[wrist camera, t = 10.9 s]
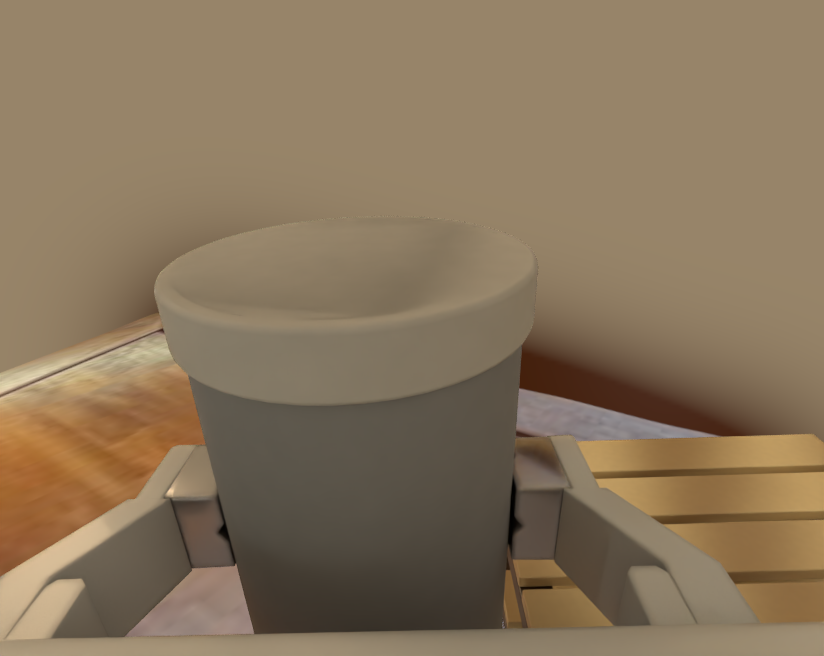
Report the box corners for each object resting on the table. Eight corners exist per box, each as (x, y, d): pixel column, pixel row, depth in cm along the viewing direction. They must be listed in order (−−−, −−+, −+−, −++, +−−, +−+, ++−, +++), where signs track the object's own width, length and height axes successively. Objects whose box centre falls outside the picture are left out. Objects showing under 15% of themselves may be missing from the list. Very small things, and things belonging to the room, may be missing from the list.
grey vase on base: (526, 829, 10) (596, 320, 5) (239, 834, 10) (52, 337, 5) (466, 454, 20) (471, 175, 15) (327, 458, 20) (291, 181, 15)
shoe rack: (526, 771, 19) (538, 661, 17) (484, 531, 30) (487, 440, 27) (982, 760, 19) (1077, 648, 16) (775, 523, 30) (809, 430, 27)
